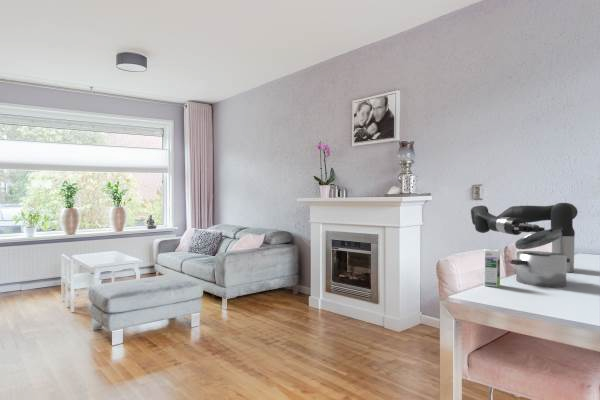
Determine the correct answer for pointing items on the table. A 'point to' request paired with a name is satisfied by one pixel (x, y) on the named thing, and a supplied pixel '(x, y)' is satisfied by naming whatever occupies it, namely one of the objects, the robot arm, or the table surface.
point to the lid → (539, 238)
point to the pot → (541, 268)
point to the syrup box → (492, 267)
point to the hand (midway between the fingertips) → (543, 230)
